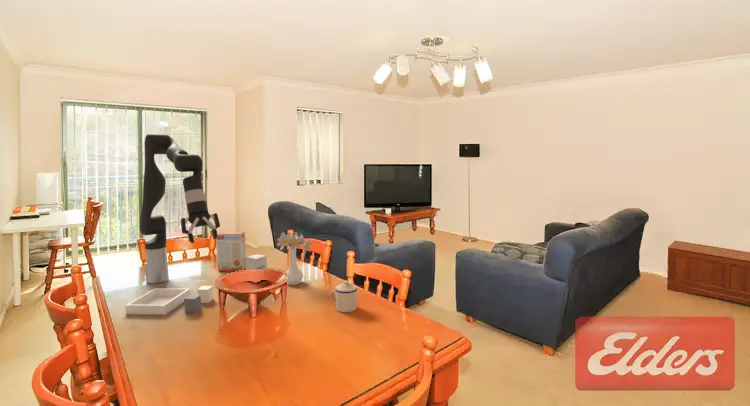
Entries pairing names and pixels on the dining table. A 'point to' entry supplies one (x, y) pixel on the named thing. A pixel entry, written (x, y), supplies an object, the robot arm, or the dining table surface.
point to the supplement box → (256, 262)
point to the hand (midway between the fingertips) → (203, 241)
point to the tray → (157, 301)
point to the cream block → (206, 293)
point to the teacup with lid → (345, 297)
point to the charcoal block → (192, 303)
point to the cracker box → (231, 251)
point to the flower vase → (293, 254)
